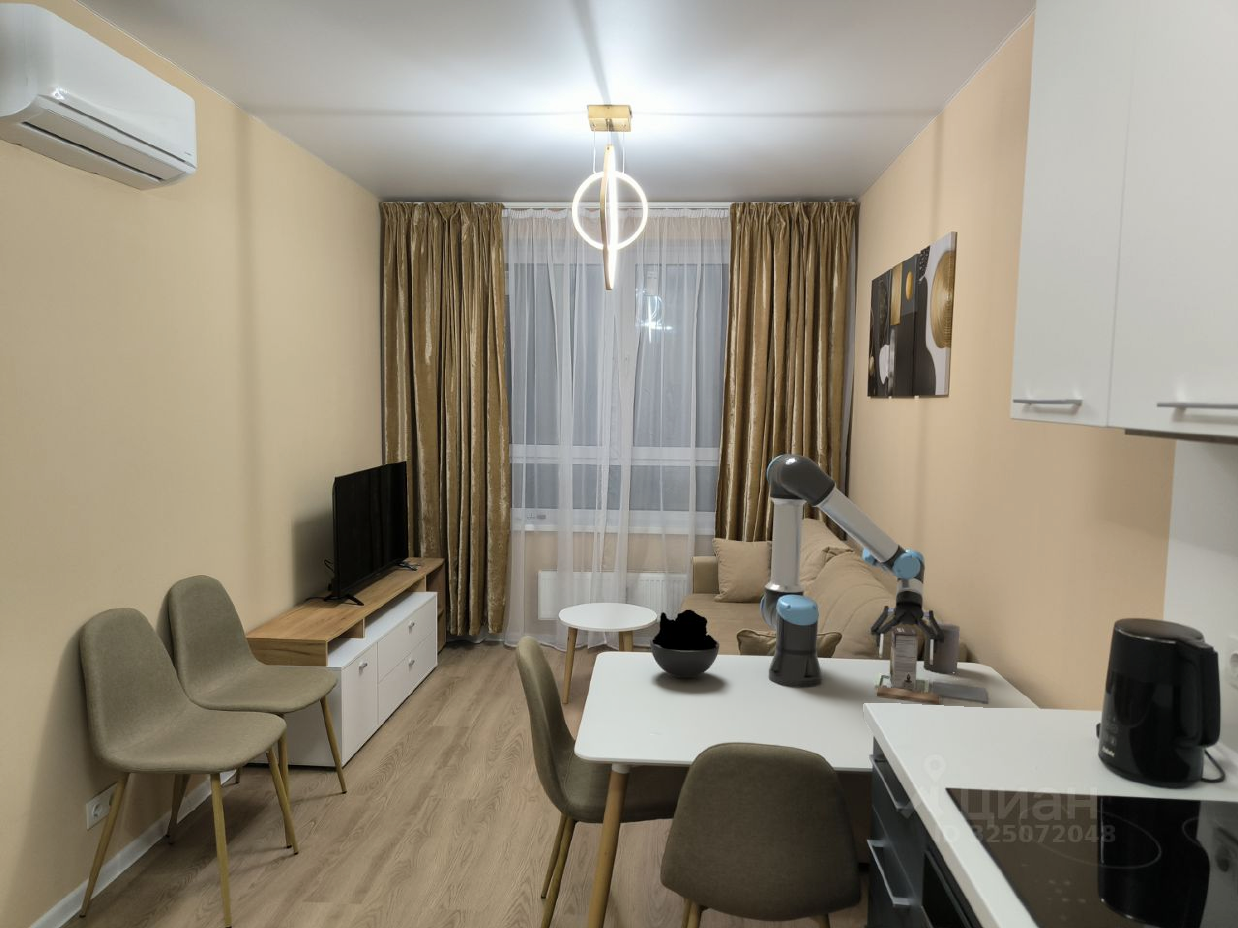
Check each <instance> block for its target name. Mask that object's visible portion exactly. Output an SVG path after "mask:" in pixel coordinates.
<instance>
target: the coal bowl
mask: <svg viewBox="0 0 1238 928" xmlns="http://www.w3.org/2000/svg"><path fill="white" fill-rule="evenodd" d="M676 615H677V616H676V617H675V619H673V618H672V619H669V618H667V617H668V616H667V614H666V612H663V611H662V612H661V613H660V617H659V618H660V619H659V630H658V633H657V634H656V635H655V636H654V637H652V638H651V639H650V641H649V645H650V647H649V648H650V650H651V655H652V656H653V659H654V661H655V663H656V664H657V665H658V666H659V668H660V669H662V670H663V671H664V672H665V673H668V674H669V675H671V676H674V677H677V678H682V679H683V678H684V679H688V678H694V677H697V676H700V675H701V674H703V673H705V672H706V671H707V670H708V669H710V668H711V667H712V665H713V664H714V662H716V661H715V660H716V658H717V657H718V654H719V650H720V643H719V642H718V641H717V640H716V639H714V638H713V636H711V634H707V633H708V631H707V625H708V619H707V618H706V617H705V616H702V615H700V614H698V613H697V612H695V610H692V609H685V610H683V611H681V612H680V613H677V614H676Z"/></svg>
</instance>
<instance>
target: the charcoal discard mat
mask: <svg viewBox="0 0 1238 928" xmlns="http://www.w3.org/2000/svg"><path fill="white" fill-rule="evenodd" d="M931 687H932V688H931V693H934V694H940V698H944V699H945V698H946V699H953V700H959V701H965V702H974V703H975V702H976V703H979V704H980V703H981V704H988V703H989V702H988V701H989V700H988V694H987V689H986V687H979V686H971V685H963V684H956V683H948V682H941V681H940V682H939V681H932V686H931Z"/></svg>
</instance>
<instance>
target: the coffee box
mask: <svg viewBox="0 0 1238 928" xmlns="http://www.w3.org/2000/svg"><path fill="white" fill-rule="evenodd" d="M890 632H891V634H890V654H889V655H890V656H889V657H890V658H889V675H890V679H889V682H890V684H891V685H890V686H893V687H895V688H898V689H899V687H901V688H904V689H905V690H908V689H912V691H916V689H917V688H916V685H917V682H916V678H917V665H918V664H917V663H918V662H917V661H918V645H919V644H918V641H919V634H918V633H917V631H916V629H915V627H912V626H911V627H910V626H898V625H896V626H892V629H891V630H890Z"/></svg>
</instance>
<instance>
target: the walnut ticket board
mask: <svg viewBox="0 0 1238 928" xmlns="http://www.w3.org/2000/svg"><path fill="white" fill-rule="evenodd" d="M876 696H877V697H881V698H890V699H891V698H892V699H896V700H902V701H904V700H905V701H910V702H917V703H918V702H919V703H925V704H931V705H938V704H939V705H938V706H940V705H941V697H940V694H934V693H932V692H928V693H926V692H924V691H921V692H919V691H916V690H915V691H912V690H905V689H898V688H891V686H890V687H889V686H887V687H883V686H882V685H880V686H878V688H877V690H876Z"/></svg>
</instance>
